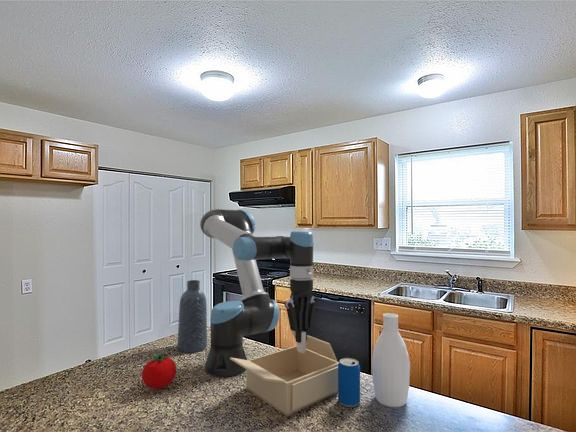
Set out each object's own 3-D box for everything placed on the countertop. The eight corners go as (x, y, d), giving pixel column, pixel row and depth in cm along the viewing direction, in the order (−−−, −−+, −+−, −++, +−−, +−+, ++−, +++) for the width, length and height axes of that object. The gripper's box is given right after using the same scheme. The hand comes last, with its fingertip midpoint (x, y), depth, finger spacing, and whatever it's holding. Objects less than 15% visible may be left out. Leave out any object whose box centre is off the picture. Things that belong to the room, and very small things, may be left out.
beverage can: (360, 409, 96) (360, 367, 96) (337, 407, 97) (337, 365, 97) (360, 398, 102) (360, 358, 102) (338, 396, 103) (338, 356, 104)
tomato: (182, 386, 108) (182, 355, 109) (150, 398, 101) (151, 365, 101) (166, 376, 115) (167, 347, 116) (135, 387, 108) (136, 355, 108)
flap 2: (337, 360, 107) (329, 343, 105) (336, 361, 106) (328, 344, 104) (299, 344, 121) (291, 329, 118) (298, 345, 120) (291, 330, 118)
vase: (203, 353, 137) (204, 283, 138) (173, 353, 137) (174, 283, 137) (209, 342, 149) (210, 278, 150) (182, 342, 149) (183, 278, 150)
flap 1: (247, 362, 106) (229, 359, 102) (248, 360, 106) (230, 357, 102) (283, 382, 93) (264, 380, 88) (284, 380, 93) (265, 378, 89)
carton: (245, 388, 108) (245, 359, 108) (296, 369, 122) (296, 344, 122) (288, 418, 91) (289, 384, 91) (342, 392, 105) (342, 363, 106)
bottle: (390, 413, 94) (390, 322, 94) (364, 395, 104) (364, 312, 104) (418, 404, 99) (418, 317, 100) (390, 387, 109) (390, 308, 109)
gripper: (293, 282, 103) (293, 360, 102) (323, 278, 111) (323, 350, 110) (278, 278, 108) (278, 352, 108) (308, 275, 117) (308, 344, 116)
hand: (301, 351), depth 109 cm, fingers closed
